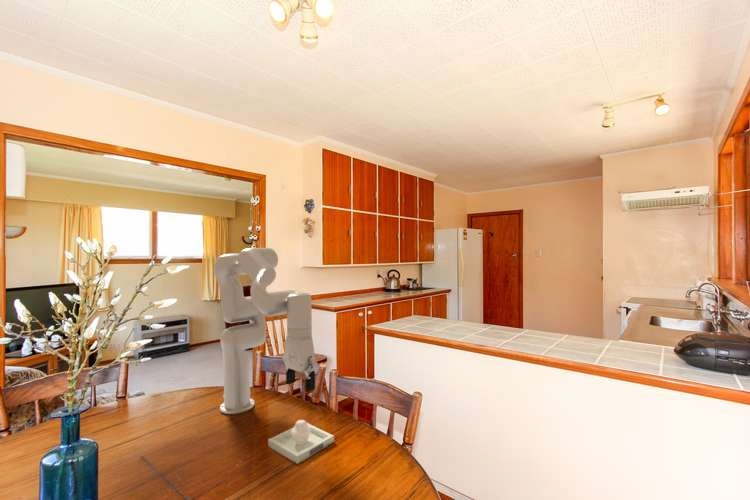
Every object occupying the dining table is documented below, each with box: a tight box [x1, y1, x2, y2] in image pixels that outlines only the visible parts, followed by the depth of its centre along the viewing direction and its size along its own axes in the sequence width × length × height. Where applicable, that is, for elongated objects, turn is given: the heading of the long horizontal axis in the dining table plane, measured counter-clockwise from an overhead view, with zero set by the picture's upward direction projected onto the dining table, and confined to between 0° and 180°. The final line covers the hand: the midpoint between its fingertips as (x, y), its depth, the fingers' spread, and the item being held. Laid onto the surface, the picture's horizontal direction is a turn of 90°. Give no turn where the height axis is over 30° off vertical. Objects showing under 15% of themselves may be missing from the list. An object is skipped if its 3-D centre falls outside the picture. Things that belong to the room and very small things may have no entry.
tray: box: [267, 422, 335, 464], centre depth 111 cm, size 15×14×2 cm
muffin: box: [291, 419, 311, 445], centre depth 111 cm, size 6×6×7 cm
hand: (300, 386), depth 111 cm, fingers open, 9 cm apart
